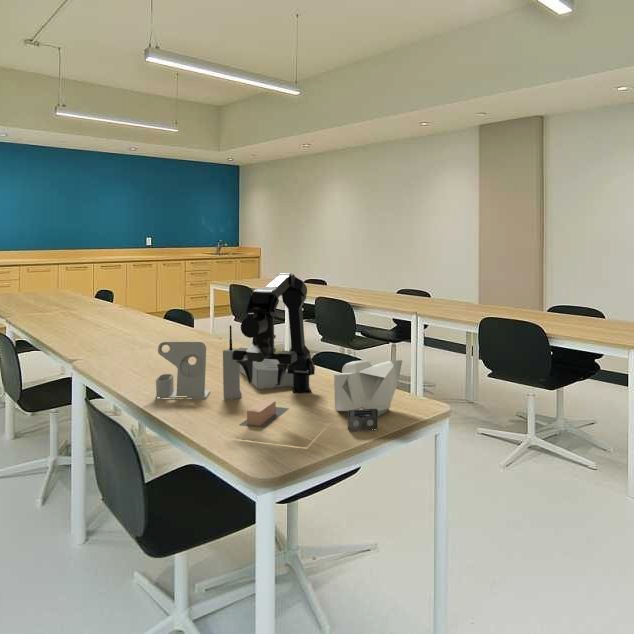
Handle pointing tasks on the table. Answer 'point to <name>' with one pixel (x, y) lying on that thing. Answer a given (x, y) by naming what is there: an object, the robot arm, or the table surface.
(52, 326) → the table surface
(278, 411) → the charcoal mat
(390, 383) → the folded paper
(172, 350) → the phone holder
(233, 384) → the vintage mobile phone
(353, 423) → the mini dv tape
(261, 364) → the warehouse
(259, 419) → the terracotta block
